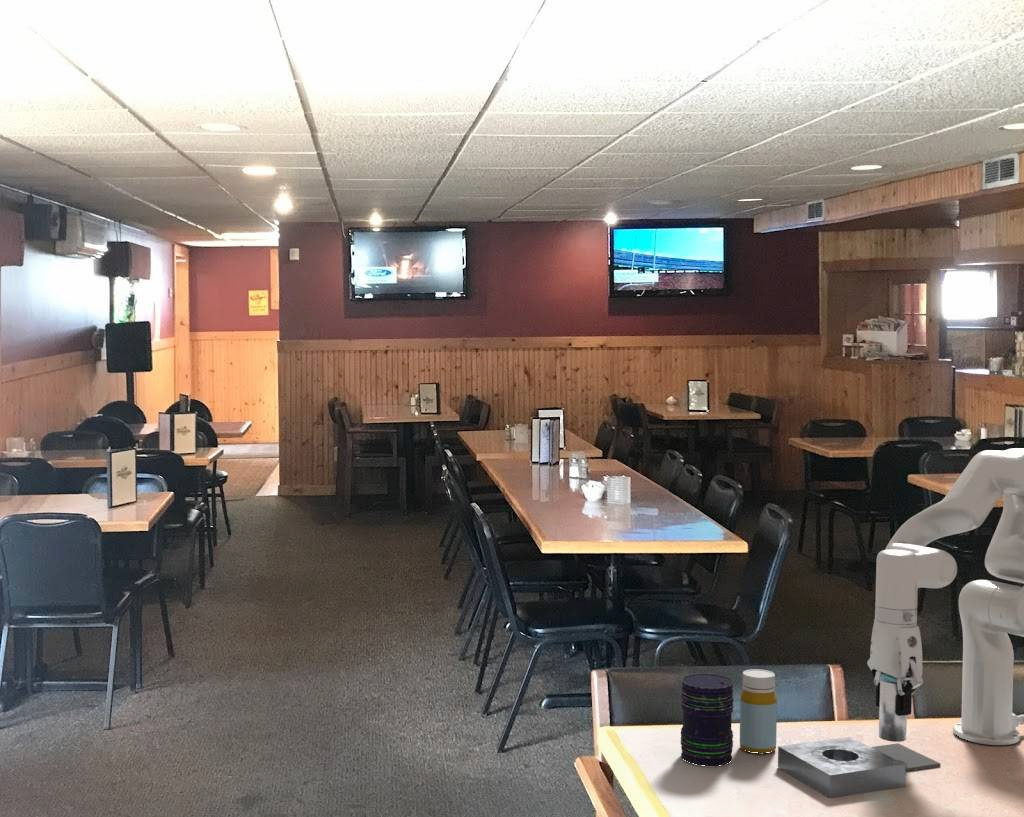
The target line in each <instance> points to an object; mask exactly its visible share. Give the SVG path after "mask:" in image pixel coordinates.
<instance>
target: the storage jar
mask: <svg viewBox="0 0 1024 817" xmlns="http://www.w3.org/2000/svg"><path fill="white" fill-rule="evenodd" d="M681 685H682V686H681V693H680V694H681V695H680V699H681V700H680V701H681V702H680V703H681V704H680V706H681V710H682V727H681V728H680V745H681V746H680V750H681V754H680V758H681V757H682V758H683V759H684V760H686V761H688V762H690V763H694V764H697V765H705V766H719V765H725V764H727V763H729V762H730V761H731V760H732V761H733V755H732V753H733V747H734V740H733V738H734V733H733V730H732V713H733V712H734V711H733V710H734V690H733V687H734V682H733V680H732V678H729V677H726V676H723V675H718V674H710V673H709V674H708V673H696V674H689V675H686V676H683V678H682V679H681ZM682 758H681V759H682ZM725 766H726V765H725ZM719 767H720V766H719Z"/></svg>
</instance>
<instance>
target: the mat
mask: <svg viewBox="0 0 1024 817" xmlns="http://www.w3.org/2000/svg"><path fill="white" fill-rule="evenodd" d="M870 747H871V748H873V749H875V750H877V751H880V752H882V753H884V754H886V755H888V756H890V757H892V758H894V759H896V760H898V761H900V762H902V763H904V764H905V771H907V772H911V771H910V770H913V771H916V770H915V769H920V770H926V769H925V768H927V769H930V768H929V767H934V768H939V766H940V767H941V763H940V762H938V761H936V760H934V759H932V758H930V757H928V756H926V755H924V754H921V753H920V752H917V751H915V750H914V749H911V748H909V747H907V746H904V745H902V744H900V743H899V742H896V743H891V744H890V743H889V744H884V745H883V744H882V745H877V746H870ZM937 766H938V767H937ZM922 768H923V769H922Z"/></svg>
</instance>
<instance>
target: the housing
mask: <svg viewBox="0 0 1024 817" xmlns="http://www.w3.org/2000/svg"><path fill="white" fill-rule="evenodd" d="M777 747H778V748H777V768H778V767H779V768H778V769H780V768H781V769H780V770H781V771H783V770H784V771H783V772H785V771H786V773H787V774H788V773H789V775H791V776H792V777H793V776H794V777H793V778H795V779H797V780H799V781H800V782H802V783H803V784H806V785H808V786H809V787H810V788H812V789H814V790H815V791H818V792H819V793H821V794H823V795H824V796H826V797H828V798H829V799H831V798H837V797H844V796H850V795H858V794H863V793H871V792H877V791H882V790H888V789H889V790H890V789H896V788H902V787H906V772H905V764H904V763H902V762H900V761H898V760H896V759H894V758H892V757H890V756H888V755H886V754H884V753H882V752H880V751H877V750H875V749H873V748H871V747H872V746H869V745H867V744H866V743H863V742H861V741H859V740H857V739H855V738H854V737H851V736H846V737H844V736H843V737H837V738H831V739H823V740H816V741H815V740H814V741H808V742H799V743H793V744H786V745H778V746H777Z"/></svg>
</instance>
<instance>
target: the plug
mask: <svg viewBox="0 0 1024 817" xmlns="http://www.w3.org/2000/svg"><path fill="white" fill-rule="evenodd" d="M903 684H904V686H905V685H906V684H907V682H906V681H903ZM896 694H899V692H898V686H897V680H896V678H894V677H892V676H889V675H887V674H884V673H881V674H880V706H879V707H878V708H879V710H878V712H879V713H878V737H879V739H881V740H884V741H887V742H892V743H893V742H895V743H901V742H905V741H907V724H908V722H907V721H908V715H903V716H898V715H896Z"/></svg>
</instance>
